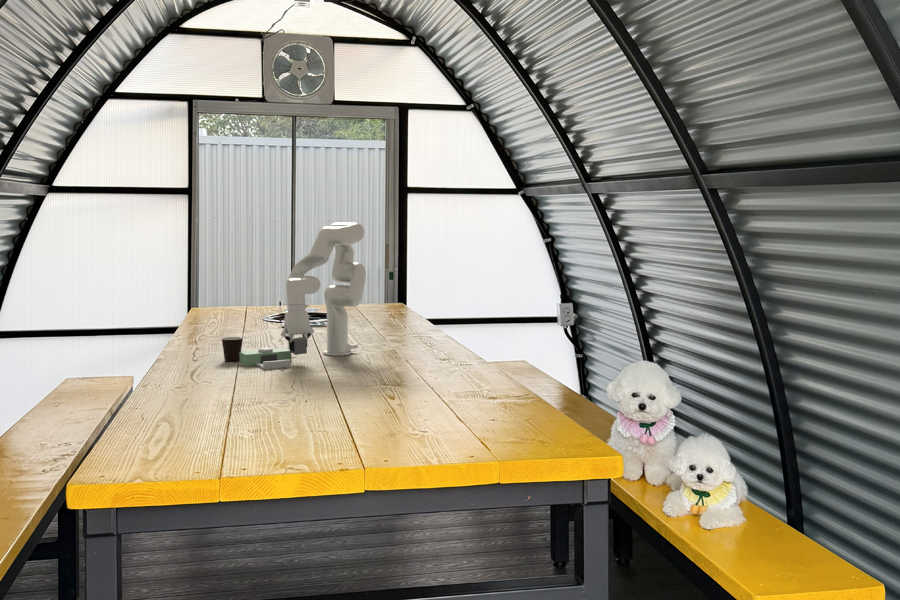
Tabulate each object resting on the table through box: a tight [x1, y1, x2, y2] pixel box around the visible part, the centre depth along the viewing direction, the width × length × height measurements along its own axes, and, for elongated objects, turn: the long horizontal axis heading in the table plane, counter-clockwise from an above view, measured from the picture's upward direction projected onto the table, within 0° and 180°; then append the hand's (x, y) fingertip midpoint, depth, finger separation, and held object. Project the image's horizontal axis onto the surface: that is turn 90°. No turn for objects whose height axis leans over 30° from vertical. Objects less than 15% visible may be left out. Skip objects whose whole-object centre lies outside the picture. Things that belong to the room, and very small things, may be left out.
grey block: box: [289, 336, 308, 356], centre depth 342 cm, size 5×7×7 cm
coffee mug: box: [221, 336, 243, 363], centre depth 349 cm, size 12×9×10 cm
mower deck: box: [239, 347, 292, 370], centre depth 340 cm, size 20×18×6 cm
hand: (298, 349), depth 342 cm, fingers closed on grey block, 5 cm apart
